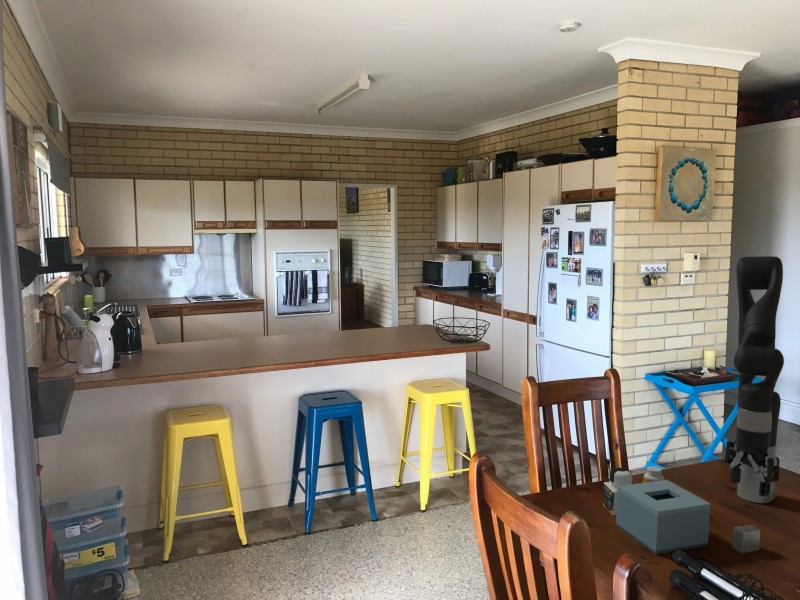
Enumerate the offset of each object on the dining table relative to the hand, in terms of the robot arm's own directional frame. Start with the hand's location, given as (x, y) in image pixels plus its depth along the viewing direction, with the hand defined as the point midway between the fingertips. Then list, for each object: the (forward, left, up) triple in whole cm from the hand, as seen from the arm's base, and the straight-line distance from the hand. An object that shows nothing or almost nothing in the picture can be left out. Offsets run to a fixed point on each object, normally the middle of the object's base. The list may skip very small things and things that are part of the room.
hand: (749, 489), depth 158 cm
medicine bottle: (+17, -28, -16) cm, 36 cm away
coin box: (+16, -12, -16) cm, 25 cm away
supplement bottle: (+4, -30, -16) cm, 34 cm away
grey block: (0, 0, -16) cm, 16 cm away
